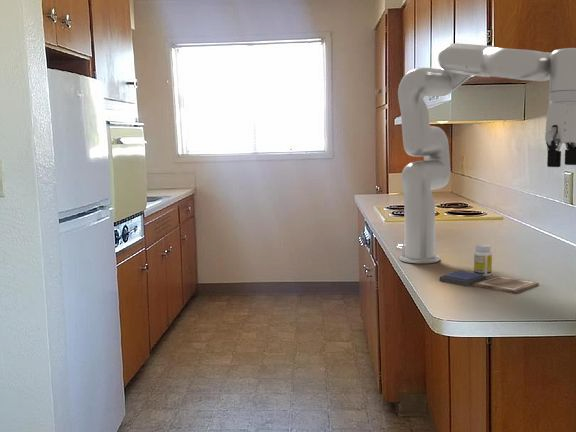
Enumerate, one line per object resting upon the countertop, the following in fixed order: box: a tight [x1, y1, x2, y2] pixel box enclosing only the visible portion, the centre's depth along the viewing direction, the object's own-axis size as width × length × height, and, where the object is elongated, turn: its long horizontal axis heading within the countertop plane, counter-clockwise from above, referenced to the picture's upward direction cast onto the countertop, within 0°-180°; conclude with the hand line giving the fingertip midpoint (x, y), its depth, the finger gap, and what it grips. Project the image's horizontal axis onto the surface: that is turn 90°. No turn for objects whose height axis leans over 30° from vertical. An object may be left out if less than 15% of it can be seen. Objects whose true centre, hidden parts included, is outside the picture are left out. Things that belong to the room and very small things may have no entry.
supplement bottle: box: [473, 243, 493, 277], centre depth 173 cm, size 5×5×8 cm
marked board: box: [472, 275, 540, 295], centre depth 161 cm, size 12×12×1 cm
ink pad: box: [439, 270, 488, 287], centre depth 167 cm, size 9×9×2 cm
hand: (562, 165), depth 157 cm, fingers open, 9 cm apart
